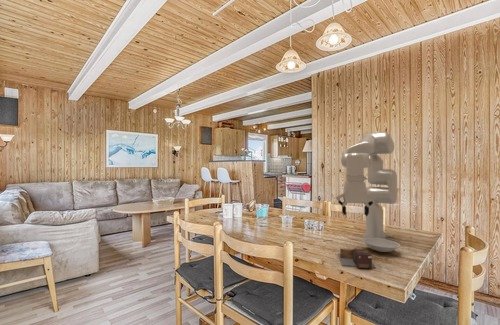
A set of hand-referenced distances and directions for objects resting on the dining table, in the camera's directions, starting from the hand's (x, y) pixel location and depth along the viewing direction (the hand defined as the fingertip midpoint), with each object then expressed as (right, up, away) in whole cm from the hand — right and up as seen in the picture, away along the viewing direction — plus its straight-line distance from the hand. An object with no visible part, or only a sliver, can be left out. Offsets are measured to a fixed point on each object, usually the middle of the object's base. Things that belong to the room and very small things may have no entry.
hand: (355, 214), depth 120 cm
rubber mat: (0, -22, 0) cm, 22 cm away
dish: (+18, -22, +12) cm, 31 cm away
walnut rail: (0, -22, +2) cm, 22 cm away
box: (+1, -18, -2) cm, 19 cm away
